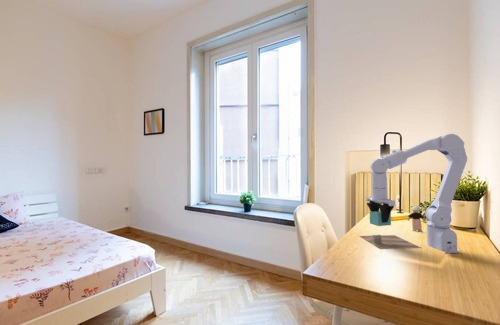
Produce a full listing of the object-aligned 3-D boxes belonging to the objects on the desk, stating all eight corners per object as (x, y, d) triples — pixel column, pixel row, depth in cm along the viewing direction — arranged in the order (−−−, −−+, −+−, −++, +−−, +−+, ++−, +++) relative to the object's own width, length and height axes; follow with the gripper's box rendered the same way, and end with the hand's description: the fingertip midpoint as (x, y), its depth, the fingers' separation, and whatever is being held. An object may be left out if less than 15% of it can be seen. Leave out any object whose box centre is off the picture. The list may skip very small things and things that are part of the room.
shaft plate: (421, 251, 99) (421, 239, 99) (380, 252, 99) (379, 241, 99) (394, 237, 117) (394, 228, 117) (359, 238, 117) (358, 229, 117)
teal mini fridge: (390, 225, 107) (390, 212, 107) (378, 226, 105) (378, 213, 105) (382, 222, 112) (381, 210, 112) (369, 223, 110) (369, 211, 110)
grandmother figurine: (422, 230, 128) (421, 204, 128) (426, 232, 124) (426, 206, 124) (405, 230, 129) (405, 204, 129) (409, 232, 125) (409, 206, 125)
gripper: (359, 186, 115) (360, 217, 115) (383, 190, 101) (384, 225, 101) (373, 186, 116) (374, 216, 116) (399, 189, 102) (399, 224, 102)
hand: (380, 220), depth 109 cm, fingers closed on teal mini fridge, 5 cm apart
